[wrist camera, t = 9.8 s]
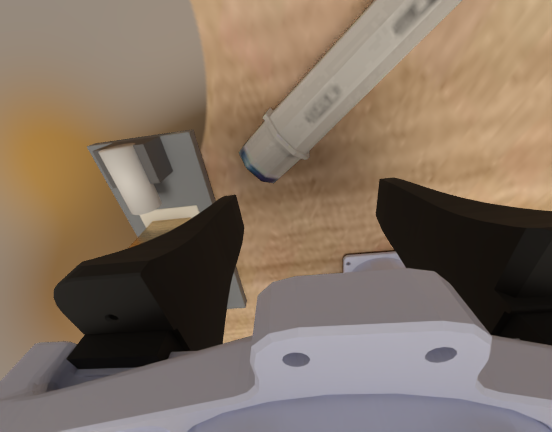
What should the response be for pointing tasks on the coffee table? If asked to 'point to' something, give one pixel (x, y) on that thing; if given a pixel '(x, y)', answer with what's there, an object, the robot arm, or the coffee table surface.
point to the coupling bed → (160, 183)
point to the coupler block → (158, 229)
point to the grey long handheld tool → (340, 82)
